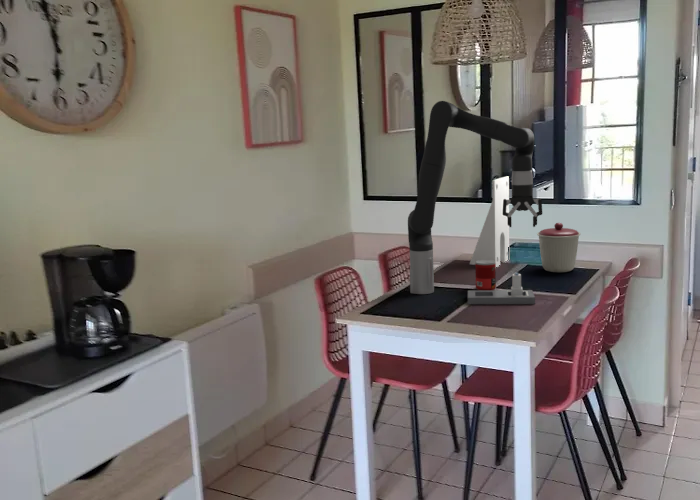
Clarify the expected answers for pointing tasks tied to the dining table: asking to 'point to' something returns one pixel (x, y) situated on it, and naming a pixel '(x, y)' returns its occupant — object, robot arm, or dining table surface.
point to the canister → (558, 248)
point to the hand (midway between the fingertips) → (522, 226)
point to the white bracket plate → (495, 227)
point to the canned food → (485, 274)
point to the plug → (516, 285)
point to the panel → (499, 297)
